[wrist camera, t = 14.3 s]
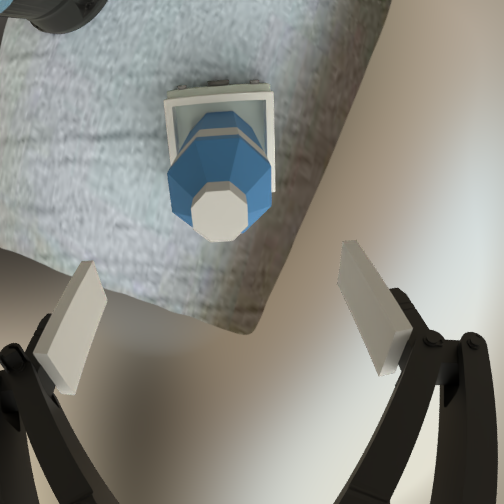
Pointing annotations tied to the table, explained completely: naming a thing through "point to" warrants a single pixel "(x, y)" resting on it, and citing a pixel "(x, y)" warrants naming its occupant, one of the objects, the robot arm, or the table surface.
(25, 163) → the table surface
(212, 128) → the water bottle
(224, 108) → the open storage box
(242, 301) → the table surface
